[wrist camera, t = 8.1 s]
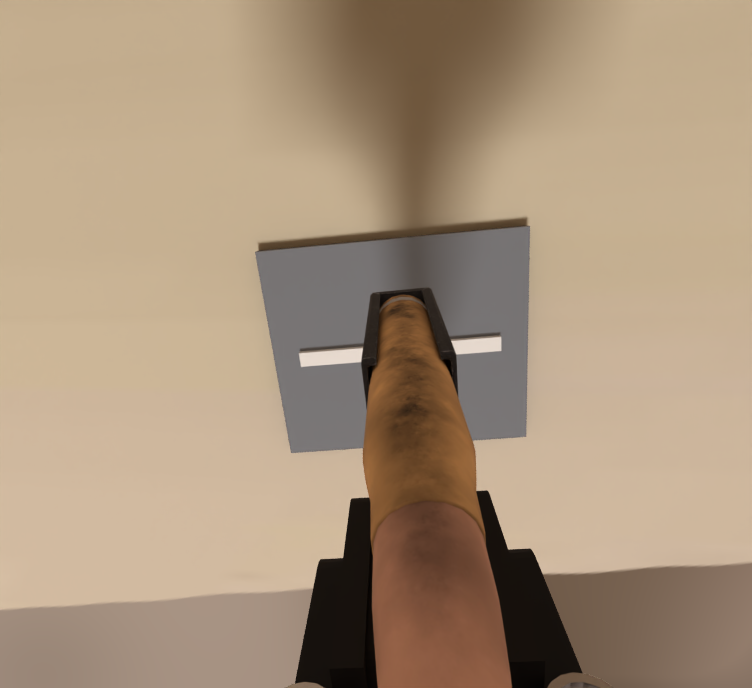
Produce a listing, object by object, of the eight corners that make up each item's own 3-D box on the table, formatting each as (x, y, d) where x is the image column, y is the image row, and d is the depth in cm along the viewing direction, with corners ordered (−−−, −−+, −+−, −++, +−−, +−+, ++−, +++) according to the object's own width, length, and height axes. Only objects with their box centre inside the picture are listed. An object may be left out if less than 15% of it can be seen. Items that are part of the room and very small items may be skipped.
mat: (526, 225, 22) (531, 226, 21) (523, 431, 26) (527, 439, 25) (258, 250, 23) (253, 252, 22) (293, 447, 27) (290, 455, 26)
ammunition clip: (449, 565, 16) (583, 1398, 5) (400, 567, 16) (422, 1388, 5) (431, 286, 13) (721, 910, 2) (370, 292, 13) (241, 917, 2)
